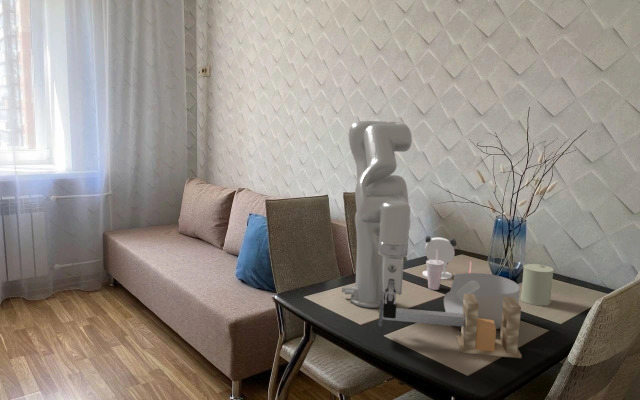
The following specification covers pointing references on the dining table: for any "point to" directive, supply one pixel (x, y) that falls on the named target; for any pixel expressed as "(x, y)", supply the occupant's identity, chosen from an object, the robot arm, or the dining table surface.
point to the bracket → (507, 335)
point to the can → (537, 284)
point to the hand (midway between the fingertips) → (389, 309)
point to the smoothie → (434, 272)
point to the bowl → (481, 294)
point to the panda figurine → (440, 252)
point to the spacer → (485, 335)
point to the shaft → (425, 317)
